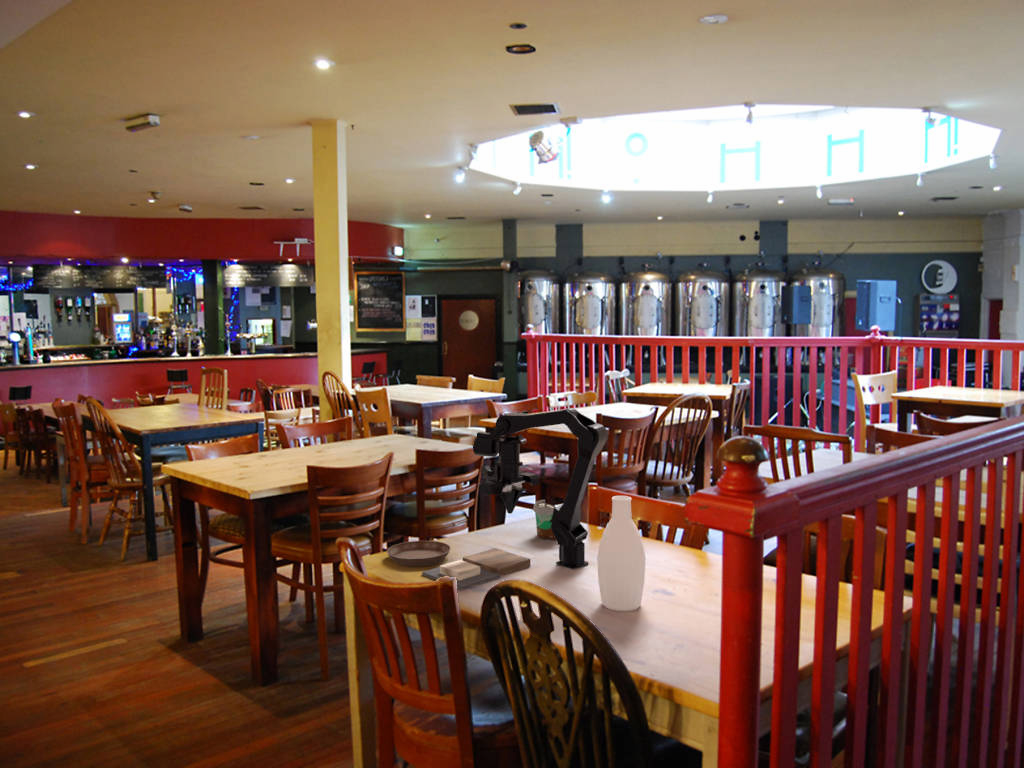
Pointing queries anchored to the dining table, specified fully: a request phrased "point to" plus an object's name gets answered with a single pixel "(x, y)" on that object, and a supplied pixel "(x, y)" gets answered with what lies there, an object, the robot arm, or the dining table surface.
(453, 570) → the coaster
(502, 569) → the serving board
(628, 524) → the bottle
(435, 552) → the plant saucer
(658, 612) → the dining table surface
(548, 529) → the food container
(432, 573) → the bar mat
